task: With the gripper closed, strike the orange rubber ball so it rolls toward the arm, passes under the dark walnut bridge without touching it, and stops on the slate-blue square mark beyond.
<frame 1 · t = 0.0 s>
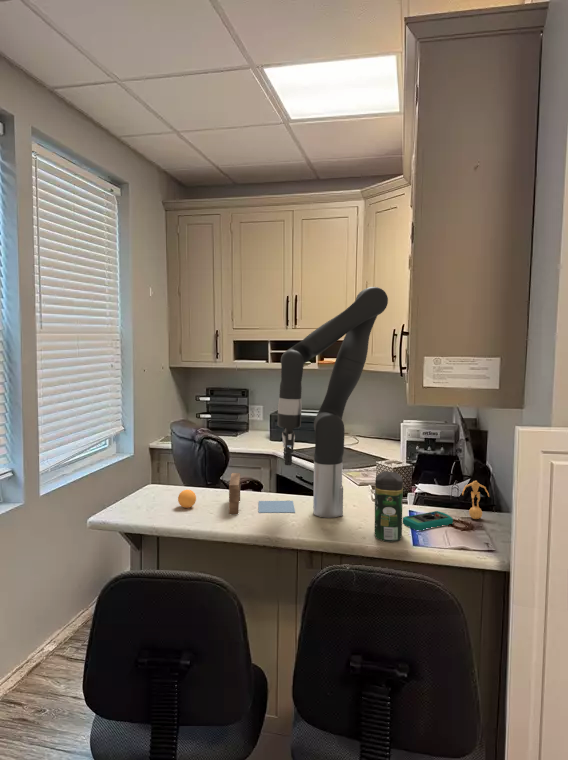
hand: (287, 461, 167), 17 cm above the counter, tool pointing down, fingers open, 8 cm apart
bridge: (234, 507, 175), on the counter
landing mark: (276, 506, 175), on the counter
coffee jar: (387, 537, 150), on the counter
digital multimeter: (427, 526, 160), on the counter
ball: (187, 498, 174), on the counter
figurine: (474, 518, 166), on the counter
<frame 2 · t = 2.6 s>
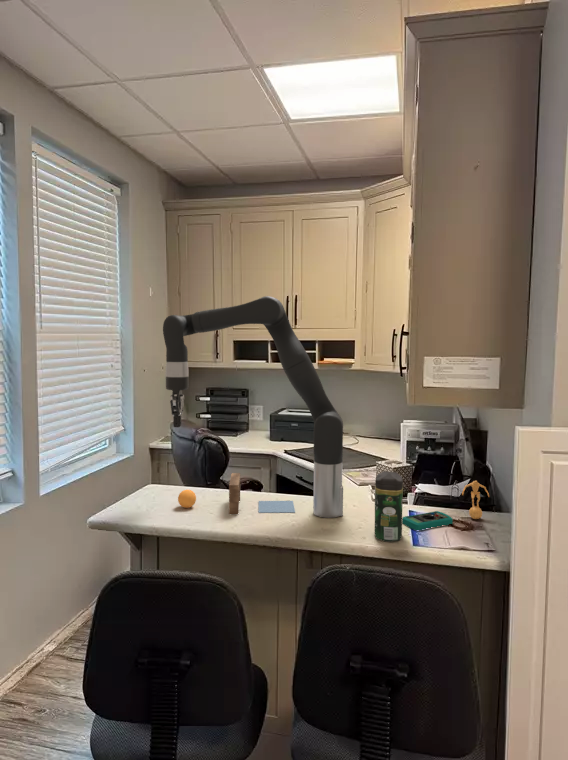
hand: (177, 426, 175), 27 cm above the counter, tool pointing down, fingers closed
nothing on the counter moved.
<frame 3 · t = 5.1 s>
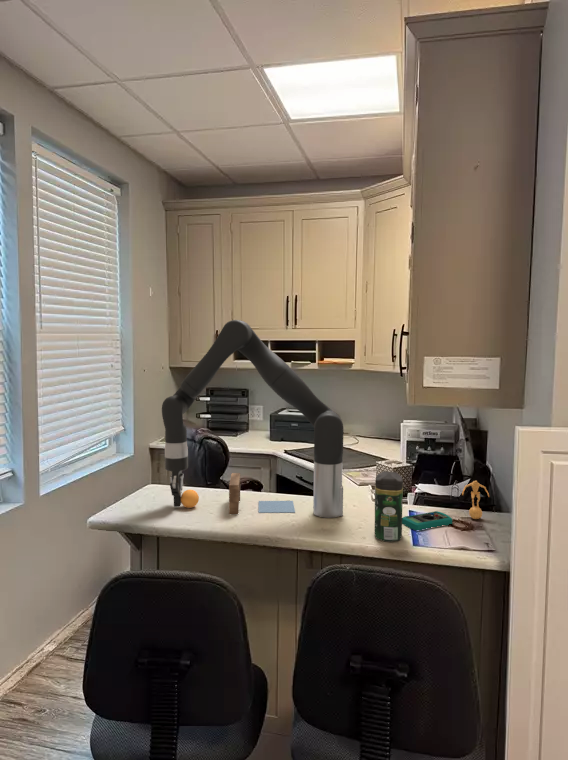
hand: (177, 505, 173), 1 cm above the counter, tool pointing down, fingers closed
ball: (189, 498, 174), on the counter, touching gripper
everything else where it was.
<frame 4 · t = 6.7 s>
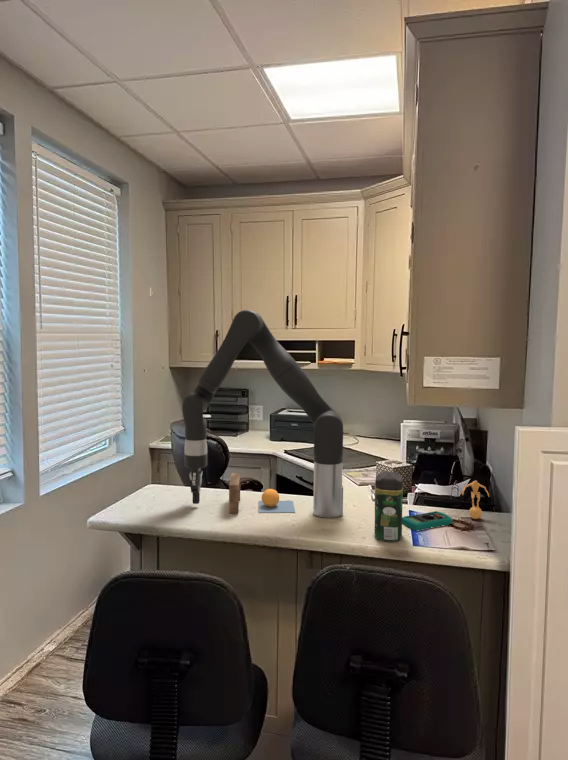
hand: (196, 503, 174), 2 cm above the counter, tool pointing down, fingers closed
ball: (270, 497, 175), on the counter
everything else where it was.
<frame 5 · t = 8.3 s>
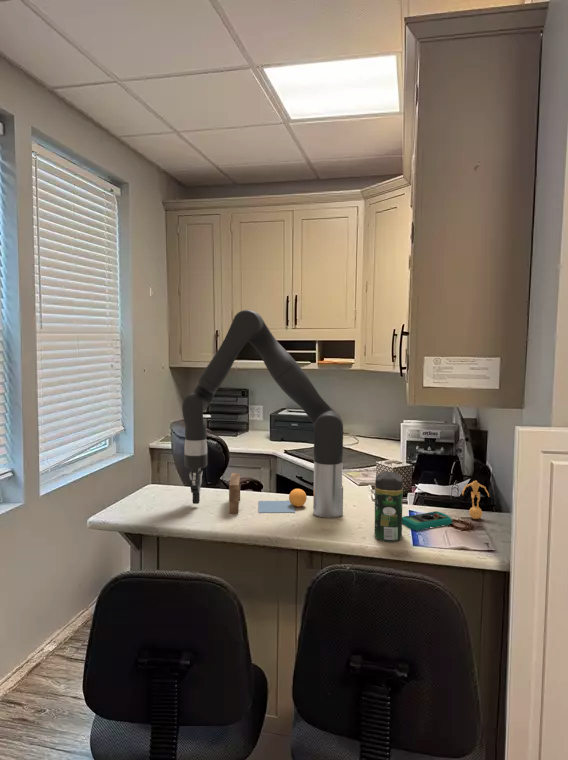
hand: (196, 503, 174), 2 cm above the counter, tool pointing down, fingers closed
ball: (297, 497, 176), on the counter
everything else where it was.
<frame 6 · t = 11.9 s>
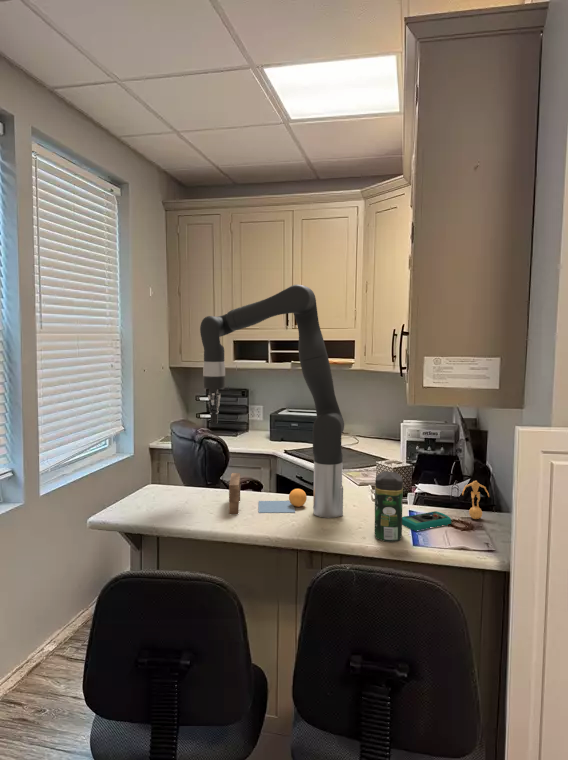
hand: (214, 424, 179), 27 cm above the counter, tool pointing down, fingers closed
nothing on the counter moved.
at the end: ball 7.3 cm from the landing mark (horizontally); ball never touched bridge; ball at rest at the end (0.0 cm/s) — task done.
